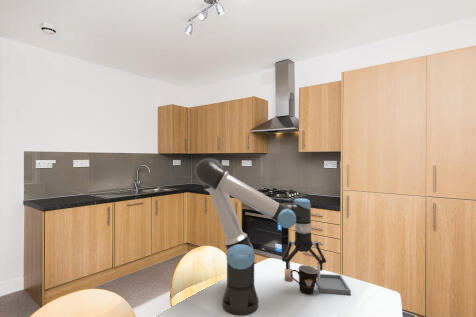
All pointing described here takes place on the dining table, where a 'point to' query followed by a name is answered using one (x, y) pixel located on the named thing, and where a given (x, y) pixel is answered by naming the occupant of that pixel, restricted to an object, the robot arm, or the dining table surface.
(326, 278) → the tray
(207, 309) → the dining table surface
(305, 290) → the coffee mug
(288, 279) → the terracotta cylinder
